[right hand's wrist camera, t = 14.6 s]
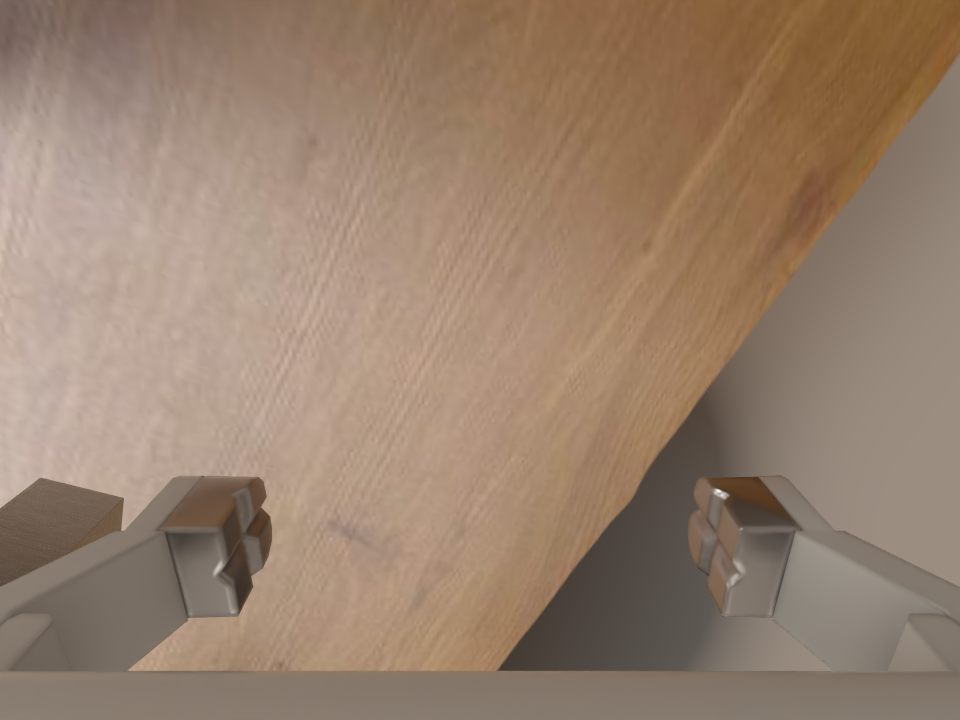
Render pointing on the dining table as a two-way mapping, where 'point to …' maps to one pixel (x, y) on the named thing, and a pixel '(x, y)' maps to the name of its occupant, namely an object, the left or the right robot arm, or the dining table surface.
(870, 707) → the right robot arm
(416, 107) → the dining table surface
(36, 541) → the bar
